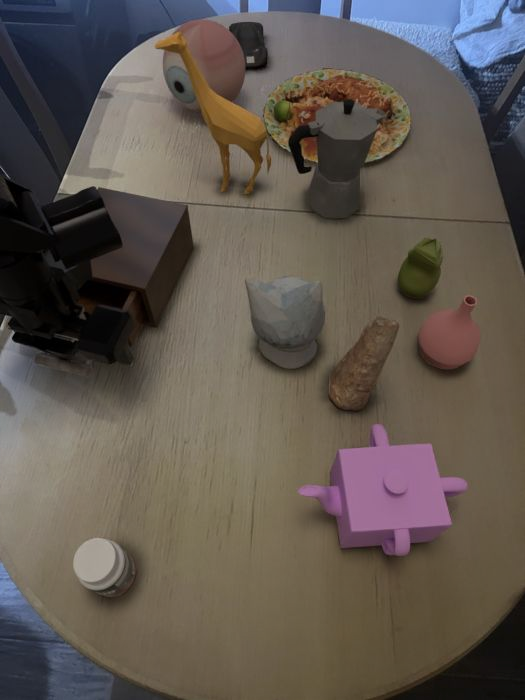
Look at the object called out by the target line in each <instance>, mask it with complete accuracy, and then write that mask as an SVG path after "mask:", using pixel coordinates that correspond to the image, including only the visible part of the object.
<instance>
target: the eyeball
mask: <svg viewBox="0 0 525 700" xmlns="http://www.w3.org/2000/svg"><path fill="white" fill-rule="evenodd" d="M182 29H183V32H182V33H183V37H184V38H185V39H186V40H187V46H188V49H189V51H190V53H191V55H192V57H193V59H194V61H195V63H196V65H197V67H198V69H199V71H200V72H201V74H202V76H203V77H204V79H205V81H206V82H207V84H208V86H209V87H210V89H212V90H213V91H214V92H215V93H216V94H217V95H219V96H221V97H223V98H224V99H226V100H228V101H230V102H232V103H234V101H235V100H236V98H237V97H238V96H239V94H240V92H241V91H242V89H243V85H244V83H245V79H246V71H245V59H244V54H243V51H242V49H241V46H240V44H239V42H238V41H237V39H236V38H235V36H234V35H233V34H232V33H231V32H230V31H229V28H228V27H226V26H224V25H223V24H221V23H219V22H217V21H214V20H212V19H206V18H202V19H201V18H200V19H199V18H198V19H193V20H190V21H187V22H185V23H183V24H181V25H180V26H179V27H177V28H176V30H174V31H173V33H172V34H171V35H173V34H176V33H177V32H180V31H181V30H182ZM162 73H163V77H164V81H165V83H166V85H167V88H168V90H169V91H170V93H171V94H172V96H173V97H174V98H175V100H176V101H177V102H178V103H180V104H181V105H182V106H183V107H184V108H187V109H189V110H190V111H193V112H196V113H200V114H202V111H201V107H200V104H199V102H198V99H197V97H196V95H195V93H194V90H193V87H192V84H191V81H190V78H189V75H188V72H187V69H186V67H185V65H184V62H183V60H182V58H181V56H180V54H178V53H174V52H170V51H166V50H163V56H162Z"/></svg>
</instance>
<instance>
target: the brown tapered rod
mask: <svg viewBox="0 0 525 700" xmlns="http://www.w3.org/2000/svg"><path fill="white" fill-rule="evenodd" d="M399 330H400V323H399V322H398V321H397V320H396V319H394V318H392V317H389V316H387V315H379V316H377V317H376V318H374V319H372V320H371V321H370V322H368V324H366V325H365V327H364V328H363V329H362V331H361V333H360V335H359V338H358V339H357V341H356V342H355V344H354V345H352V346H351V347H350V349H349V350H348V351H347V352H346V353H345V354H344V355H343V357H342V358H341V359H340V360H339V362H338V363H337V364H336V366H335V367H334V368H333V370H332V371H331V373H330V376H329V379H328V382H327V388H328V391H327V392H328V398H329V399H331V400H332V402H333V404H334V405H335V406H336V407H337V408H339V409H341V410H344V411H353V412H357V411H360V410H361V409H363V408H364V407H365V406H366V405H367V403H368V402H369V399H370V397H371V394H372V391H373V390H374V388H375V386H376V384H377V382H378V380H379V377H380V375H381V373H382V371H383V368H384V367H385V364H386V362H387V360H388V357H389V355H390V353H391V351H392V349H393V347H394V344H395V341H396V338H397V335H398V332H399Z"/></svg>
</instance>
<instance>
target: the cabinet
mask: <svg viewBox="0 0 525 700" xmlns="http://www.w3.org/2000/svg"><path fill="white" fill-rule="evenodd" d="M96 189H97V190H98V192H99V194H100V195H101V197H102V199H103V202H104V205H105V207H106V209H107V211H108V213H109V215H110V218H111V220H112V222H113V223H114V225H115V227H116V228H117V230H118V232H119V234H120V237H121V240H122V243H123V247H122V248H120V249H117V250H115V251H112V252H110V253H107V254H104V255H102V256H99V257H97V258H94V259H92V260H91V267H92V275H93V277H92V279H91V280H92V281H96V282H101V283H105V284H109V285H113V286H118V287H122V288H126V289H131V290H135V291H139V292H140V293H141V296H142V299H143V302H144V306H145V309H146V312H147V315H148V316H147V318H146V320H145V323H144V325H145V326H148V327H153V328H157V327H158V326H159V324H160V322H161V319H162V317H163V315H164V313H165V310H166V308H167V307H168V304H169V302H170V300H171V298H172V295H173V294H174V292H175V290H176V287H177V285H178V283H179V281H180V279H181V277H182V274H183V272H184V270H185V268H186V266H187V264H188V262H189V259H190V258H191V255H192V253H193V251H194V248H195V245H194V239H193V238H194V237H193V231H192V226H191V219H190V212H189V207H188V205H187V204H184V203H178V202H175V201H168V200H164V199H159V198H154V197H149V196H145V195H140V194H134V193H130V192H125V191H121V190H116V189H111V188H105V187H101V186H98V187H97V188H96ZM144 325H143V326H144Z"/></svg>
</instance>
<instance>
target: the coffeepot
mask: <svg viewBox="0 0 525 700" xmlns="http://www.w3.org/2000/svg"><path fill="white" fill-rule="evenodd" d="M386 116H387V115H386V113H385V112H384V111H383V110H378V109H371V108H365V107H364V106H362V105H360V104H359V103H355V102H354V100H352V99H345V100H344V101H343V102H332V103H330V104H328V105H326V106H325V107H323V108H321V109H320V110H318V111H316V121H314V122H309V123H308V124H307V125H300V126H298V127H297V128H296V129H295V131H294V132H293V133H292V134H291V135H290V137H289V140H288V145H289V148H290V150H291V153H290V154H291V157H292V159H293V162H294V165H295V167H296V171H297V173H298V174H300V175H304V174H307V173H310V172H312V170H313V166H312V165H310V166H305V159H304V157H303V155H302V148H301V144H300V141H301V140H302V139H303V138H310V137H317V156H318V163H316V164H315V168H314V171H313V175H312V177H311V180H310V184H309V187H308V190H307V206H308V208H310V210H311V211H313V212H314V214H316V215H318V216H320V217H321V218H325V219H328V220H329V219H330V220H331V219H332V220H342V219H347V218H349V217H350V216H353V214H354V213H356V212H357V211H358V210H359V209H360V208H361V168H362V167H363V166H364V165H365V164H364V163H365V160H366V158H367V155H368V152H369V150H370V147H371V145H372V142H373V140H374V137H375V135H376V132H377V126H378V124H379V123H380V122H381V121H382V119H384V118H385V117H386Z"/></svg>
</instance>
